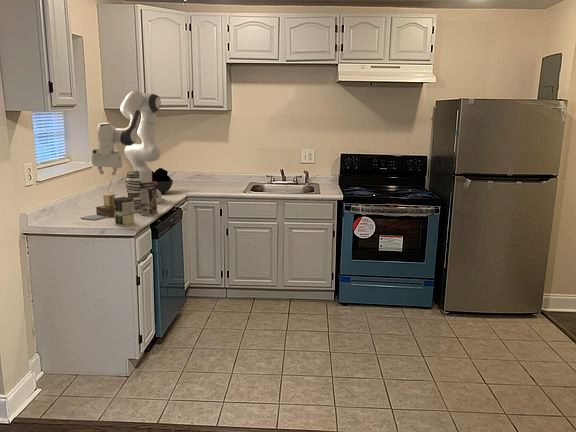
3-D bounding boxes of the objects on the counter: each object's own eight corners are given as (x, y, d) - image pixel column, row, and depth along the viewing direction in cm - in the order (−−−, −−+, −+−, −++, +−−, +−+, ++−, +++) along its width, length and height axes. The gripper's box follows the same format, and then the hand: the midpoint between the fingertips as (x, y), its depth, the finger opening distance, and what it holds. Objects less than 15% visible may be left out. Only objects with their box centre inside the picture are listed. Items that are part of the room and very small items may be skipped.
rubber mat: (94, 215, 299) (94, 214, 299) (107, 217, 295) (107, 216, 294) (80, 218, 290) (80, 217, 290) (93, 220, 286) (93, 219, 286)
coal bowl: (175, 191, 390) (174, 167, 386) (170, 195, 370) (170, 170, 366) (148, 191, 388) (147, 166, 385) (142, 195, 369) (141, 169, 365)
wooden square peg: (110, 213, 306) (108, 193, 303) (115, 214, 304) (114, 194, 301) (104, 214, 302) (103, 194, 299) (110, 215, 300) (109, 195, 297)
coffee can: (113, 226, 273) (111, 200, 270) (117, 222, 283) (116, 197, 280) (132, 226, 274) (131, 200, 271) (136, 221, 284) (135, 197, 281)
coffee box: (151, 216, 300) (150, 189, 296) (141, 215, 301) (139, 188, 297) (157, 213, 309) (156, 186, 305) (147, 212, 310) (146, 186, 306)
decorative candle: (124, 211, 311) (122, 171, 306) (131, 208, 320) (129, 169, 315) (138, 212, 310) (136, 171, 305) (144, 209, 319) (143, 169, 314)
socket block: (109, 212, 310) (109, 203, 309) (123, 213, 305) (122, 205, 304) (96, 215, 300) (96, 206, 299) (110, 216, 296) (109, 208, 295)
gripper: (124, 151, 293) (125, 175, 296) (97, 149, 302) (98, 173, 305) (116, 152, 288) (117, 176, 291) (89, 150, 296) (90, 174, 299)
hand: (107, 174), depth 298 cm, fingers open, 8 cm apart
